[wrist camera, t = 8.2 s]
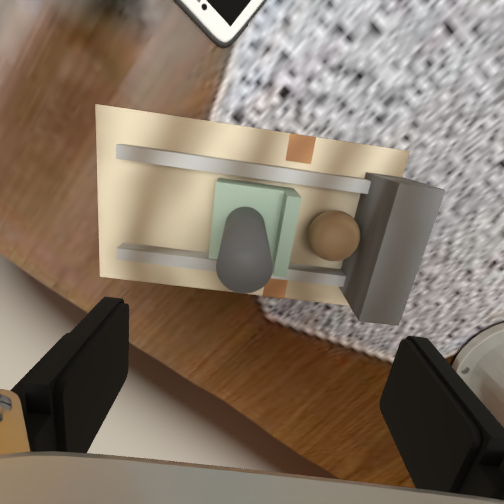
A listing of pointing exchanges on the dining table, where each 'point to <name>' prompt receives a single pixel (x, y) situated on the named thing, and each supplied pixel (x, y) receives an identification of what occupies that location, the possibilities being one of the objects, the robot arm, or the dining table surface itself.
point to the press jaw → (252, 232)
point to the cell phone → (221, 17)
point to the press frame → (271, 173)
